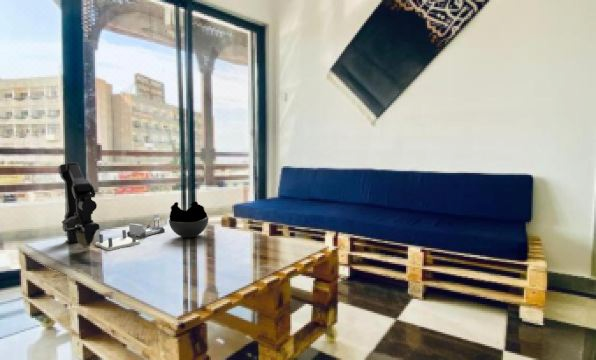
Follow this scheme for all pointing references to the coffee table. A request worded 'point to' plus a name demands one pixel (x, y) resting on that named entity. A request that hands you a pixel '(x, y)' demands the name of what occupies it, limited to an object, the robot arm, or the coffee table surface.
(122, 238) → the peg stand
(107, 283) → the coffee table surface
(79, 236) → the dark brown ornate lampshade
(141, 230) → the toy car
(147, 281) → the coffee table surface
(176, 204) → the coal bowl
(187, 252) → the coffee table surface
